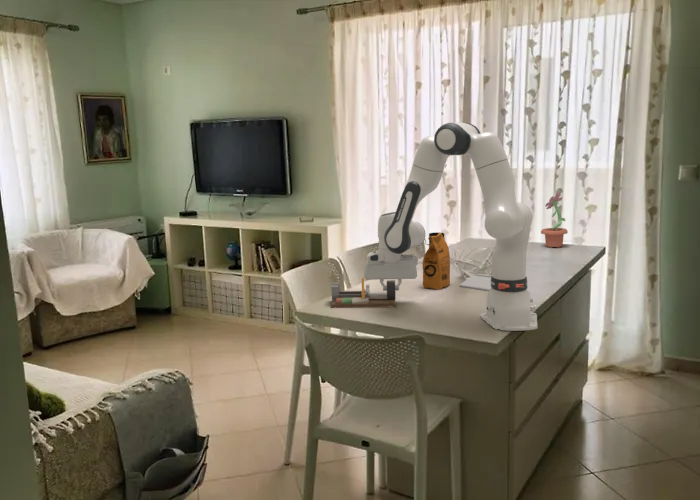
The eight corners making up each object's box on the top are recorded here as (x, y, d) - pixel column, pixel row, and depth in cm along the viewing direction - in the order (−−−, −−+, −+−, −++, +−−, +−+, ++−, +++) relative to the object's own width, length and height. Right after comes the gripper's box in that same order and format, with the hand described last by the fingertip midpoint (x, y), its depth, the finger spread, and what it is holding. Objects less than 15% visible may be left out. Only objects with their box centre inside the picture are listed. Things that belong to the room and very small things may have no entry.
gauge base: (395, 306, 227) (394, 288, 225) (331, 307, 229) (330, 289, 227) (395, 297, 240) (395, 279, 239) (335, 298, 242) (334, 280, 241)
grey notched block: (395, 301, 229) (394, 284, 227) (360, 301, 230) (360, 284, 228) (395, 296, 235) (395, 280, 234) (361, 297, 236) (361, 280, 235)
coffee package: (418, 288, 253) (417, 236, 249) (432, 281, 263) (431, 231, 259) (440, 290, 248) (439, 237, 244) (453, 284, 258) (453, 233, 254)
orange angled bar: (364, 298, 228) (363, 278, 226) (361, 298, 228) (361, 278, 226) (365, 296, 230) (364, 276, 229) (362, 296, 230) (361, 276, 229)
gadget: (490, 293, 243) (490, 284, 243) (458, 288, 253) (458, 279, 253) (517, 281, 260) (517, 273, 259) (486, 277, 270) (486, 269, 269)
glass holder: (445, 265, 295) (445, 234, 293) (416, 265, 298) (416, 235, 295) (446, 261, 304) (445, 232, 301) (417, 261, 306) (416, 232, 304)
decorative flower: (550, 243, 343) (552, 190, 337) (573, 246, 332) (574, 191, 327) (535, 247, 333) (536, 192, 328) (558, 250, 323) (559, 193, 317)
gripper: (417, 252, 232) (418, 287, 235) (364, 253, 234) (365, 288, 237) (417, 255, 226) (418, 291, 229) (363, 257, 228) (364, 292, 231)
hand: (391, 290), depth 233 cm, fingers closed on grey notched block, 3 cm apart
